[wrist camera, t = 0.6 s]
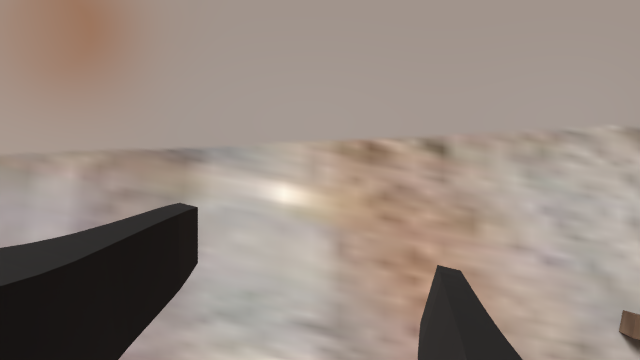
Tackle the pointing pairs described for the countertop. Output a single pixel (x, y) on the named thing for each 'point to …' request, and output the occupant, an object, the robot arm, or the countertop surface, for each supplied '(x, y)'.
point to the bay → (630, 324)
